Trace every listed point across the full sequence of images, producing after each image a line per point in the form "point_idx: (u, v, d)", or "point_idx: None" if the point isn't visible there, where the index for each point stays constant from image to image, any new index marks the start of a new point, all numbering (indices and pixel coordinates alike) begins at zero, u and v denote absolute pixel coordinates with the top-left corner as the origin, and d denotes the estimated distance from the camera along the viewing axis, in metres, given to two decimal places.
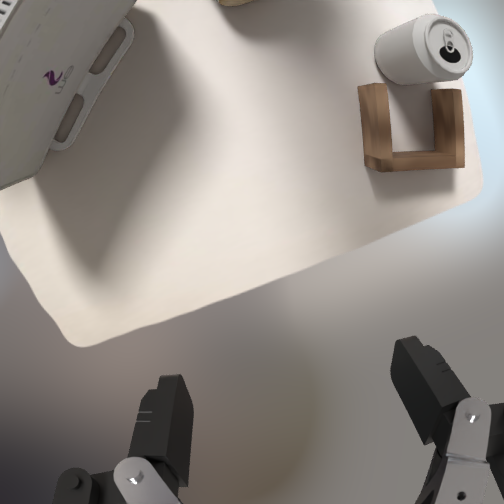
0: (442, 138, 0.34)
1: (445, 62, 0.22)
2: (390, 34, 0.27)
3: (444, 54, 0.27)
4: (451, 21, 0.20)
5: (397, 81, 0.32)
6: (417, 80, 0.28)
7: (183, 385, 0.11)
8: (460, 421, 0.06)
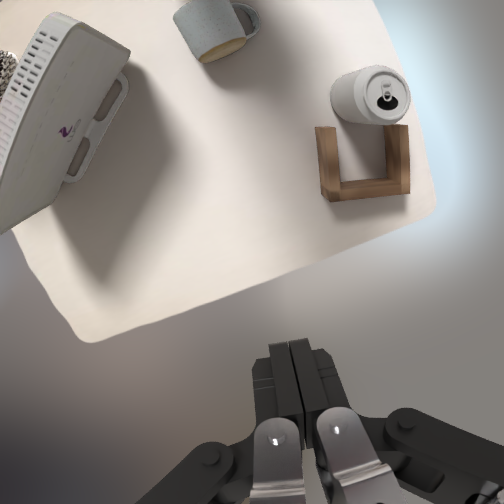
0: (391, 167, 0.44)
1: (382, 110, 0.32)
2: (341, 82, 0.36)
3: (392, 95, 0.36)
4: (390, 72, 0.30)
5: (349, 121, 0.41)
6: (363, 123, 0.37)
7: None
8: (329, 438, 0.07)
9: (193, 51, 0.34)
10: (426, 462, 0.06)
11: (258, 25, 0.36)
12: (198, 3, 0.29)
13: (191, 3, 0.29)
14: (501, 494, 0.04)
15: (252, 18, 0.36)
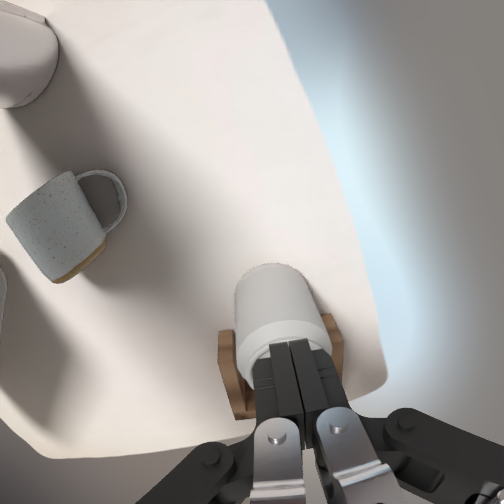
0: None
1: None
2: (238, 305, 0.28)
3: None
4: None
5: None
6: None
7: None
8: (329, 438, 0.07)
9: None
10: (426, 462, 0.06)
11: (123, 204, 0.27)
12: (18, 217, 0.21)
13: (11, 216, 0.21)
14: (501, 494, 0.04)
15: (116, 189, 0.27)
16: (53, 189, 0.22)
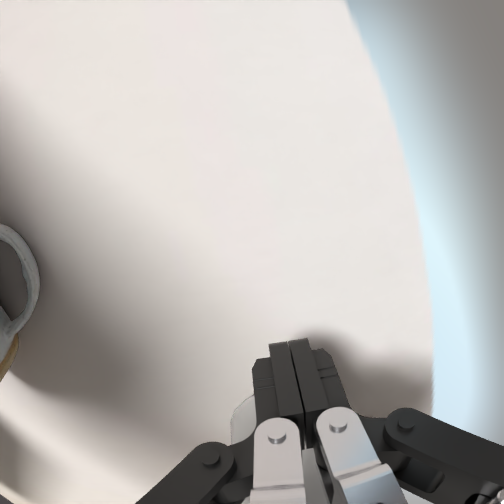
0: None
1: None
2: None
3: None
4: None
5: None
6: None
7: None
8: (329, 438, 0.07)
9: None
10: (426, 462, 0.06)
11: (30, 288, 0.13)
12: None
13: None
14: (501, 494, 0.04)
15: (18, 256, 0.13)
16: None
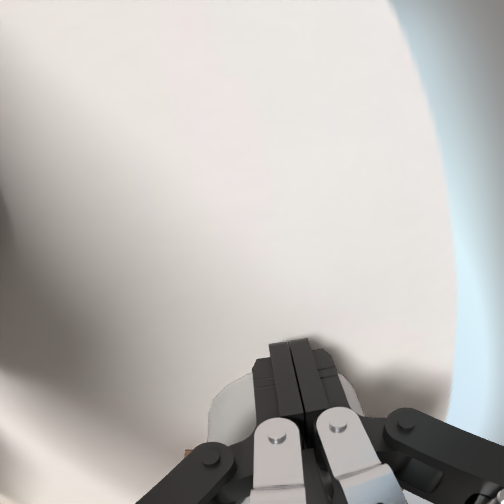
0: None
1: None
2: None
3: None
4: None
5: None
6: None
7: None
8: (329, 438, 0.07)
9: None
10: (426, 462, 0.06)
11: None
12: None
13: None
14: (501, 494, 0.04)
15: None
16: None
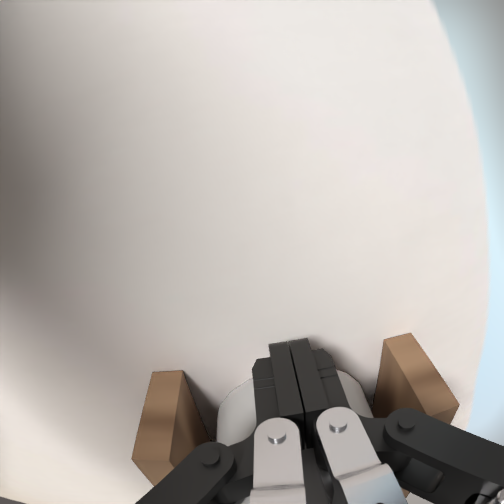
0: None
1: None
2: None
3: None
4: None
5: None
6: None
7: None
8: (328, 438, 0.07)
9: None
10: (426, 462, 0.06)
11: None
12: None
13: None
14: (501, 494, 0.04)
15: None
16: None
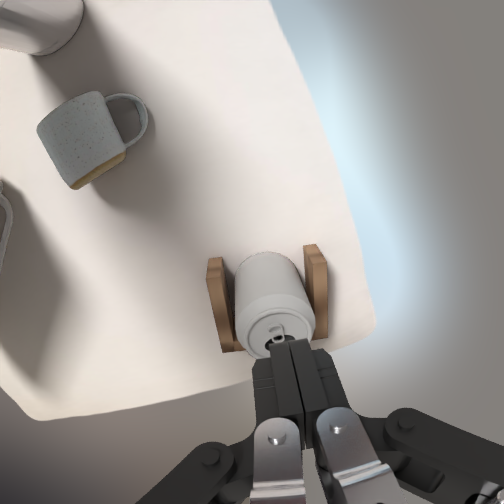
0: (309, 302, 0.38)
1: None
2: (237, 288, 0.34)
3: (305, 292, 0.33)
4: (280, 311, 0.27)
5: None
6: None
7: None
8: (328, 438, 0.07)
9: None
10: (426, 462, 0.06)
11: (144, 123, 0.30)
12: (51, 120, 0.23)
13: (45, 121, 0.23)
14: (501, 494, 0.04)
15: (139, 111, 0.30)
16: (86, 99, 0.24)
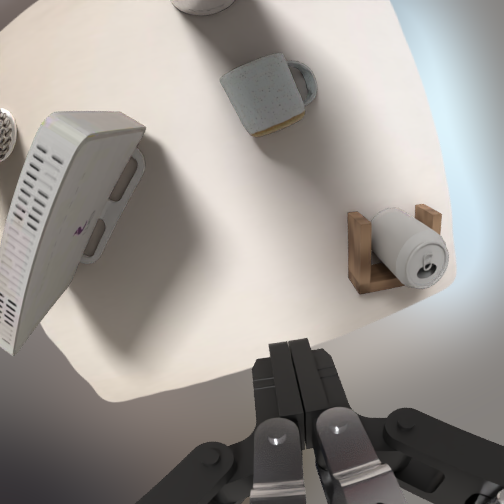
0: None
1: (421, 279, 0.34)
2: (380, 233, 0.39)
3: None
4: (433, 242, 0.32)
5: None
6: None
7: None
8: (329, 438, 0.07)
9: (245, 125, 0.33)
10: (426, 462, 0.06)
11: (314, 90, 0.35)
12: (255, 68, 0.28)
13: (246, 67, 0.28)
14: (501, 494, 0.04)
15: (307, 79, 0.35)
16: (282, 58, 0.29)
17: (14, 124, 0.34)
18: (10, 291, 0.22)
